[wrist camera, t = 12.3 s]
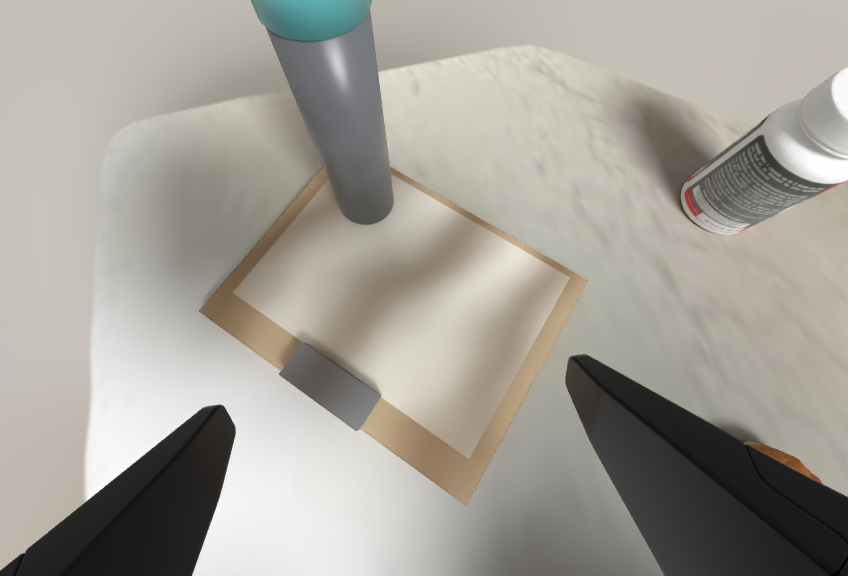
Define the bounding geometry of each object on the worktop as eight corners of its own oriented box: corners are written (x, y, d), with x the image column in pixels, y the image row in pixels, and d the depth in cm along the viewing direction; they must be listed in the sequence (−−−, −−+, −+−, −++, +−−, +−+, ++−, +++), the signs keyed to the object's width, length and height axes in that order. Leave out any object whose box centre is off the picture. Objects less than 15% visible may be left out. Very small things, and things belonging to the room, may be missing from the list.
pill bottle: (746, 246, 21) (944, 163, 13) (672, 221, 22) (820, 126, 14) (754, 186, 22) (940, 76, 14) (684, 164, 23) (826, 45, 15)
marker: (406, 193, 21) (386, -130, 8) (374, 236, 20) (293, -56, 7) (360, 167, 21) (273, -172, 9) (326, 208, 20) (172, -108, 8)
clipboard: (581, 284, 20) (596, 275, 19) (464, 500, 17) (468, 513, 15) (347, 149, 23) (341, 130, 21) (207, 313, 20) (187, 307, 18)
